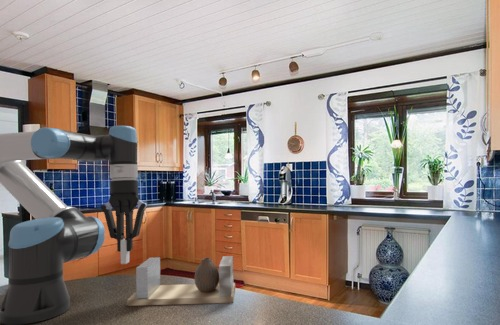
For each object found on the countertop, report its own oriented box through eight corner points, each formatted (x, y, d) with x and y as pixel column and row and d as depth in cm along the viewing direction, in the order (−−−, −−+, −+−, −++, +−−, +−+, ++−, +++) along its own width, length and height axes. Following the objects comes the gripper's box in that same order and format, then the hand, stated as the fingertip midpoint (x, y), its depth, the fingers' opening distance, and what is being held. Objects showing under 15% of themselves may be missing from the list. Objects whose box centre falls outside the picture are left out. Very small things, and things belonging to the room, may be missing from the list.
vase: (189, 292, 91) (189, 260, 91) (204, 285, 97) (203, 255, 97) (210, 295, 88) (209, 262, 88) (224, 288, 94) (223, 257, 94)
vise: (127, 305, 86) (126, 269, 87) (142, 290, 98) (141, 258, 99) (233, 302, 86) (232, 265, 87) (235, 287, 98) (234, 255, 99)
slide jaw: (136, 298, 86) (136, 267, 87) (150, 284, 98) (150, 257, 99) (147, 298, 86) (147, 267, 87) (160, 284, 98) (160, 257, 99)
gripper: (95, 180, 91) (96, 267, 89) (142, 178, 91) (143, 265, 89) (107, 180, 98) (108, 260, 97) (150, 179, 98) (152, 258, 97)
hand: (125, 262), depth 93 cm, fingers closed
